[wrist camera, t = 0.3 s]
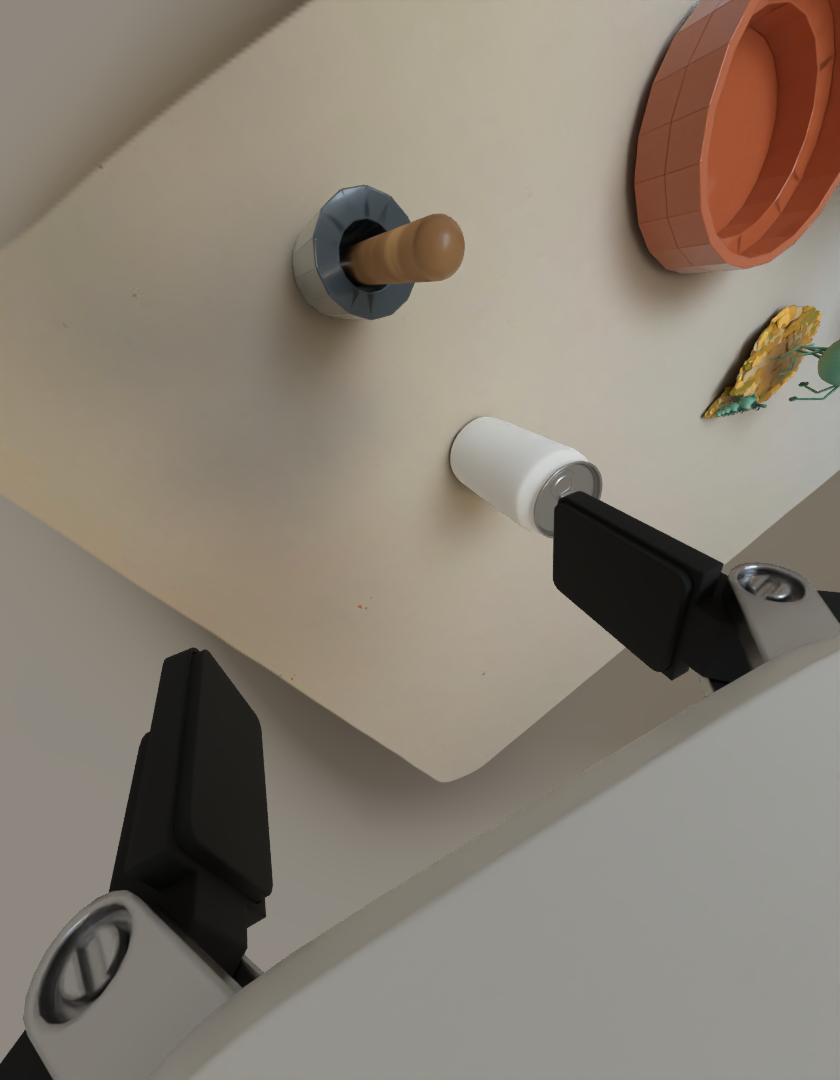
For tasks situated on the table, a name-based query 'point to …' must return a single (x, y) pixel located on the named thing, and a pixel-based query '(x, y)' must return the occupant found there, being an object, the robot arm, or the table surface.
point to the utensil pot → (319, 258)
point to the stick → (406, 253)
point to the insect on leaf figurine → (779, 362)
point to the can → (520, 471)
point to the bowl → (740, 134)
